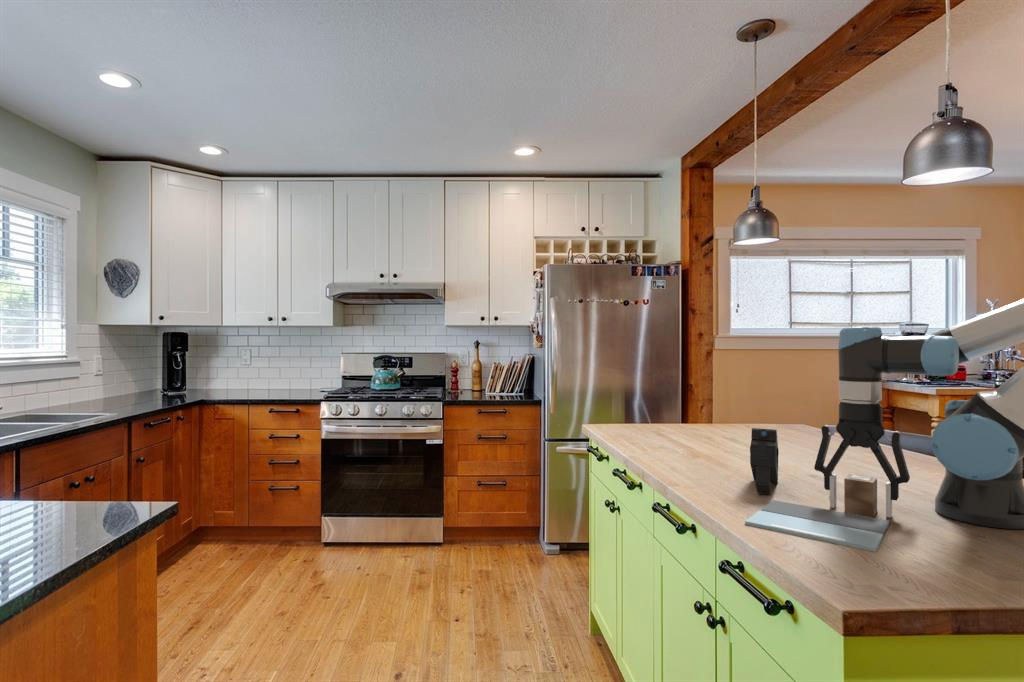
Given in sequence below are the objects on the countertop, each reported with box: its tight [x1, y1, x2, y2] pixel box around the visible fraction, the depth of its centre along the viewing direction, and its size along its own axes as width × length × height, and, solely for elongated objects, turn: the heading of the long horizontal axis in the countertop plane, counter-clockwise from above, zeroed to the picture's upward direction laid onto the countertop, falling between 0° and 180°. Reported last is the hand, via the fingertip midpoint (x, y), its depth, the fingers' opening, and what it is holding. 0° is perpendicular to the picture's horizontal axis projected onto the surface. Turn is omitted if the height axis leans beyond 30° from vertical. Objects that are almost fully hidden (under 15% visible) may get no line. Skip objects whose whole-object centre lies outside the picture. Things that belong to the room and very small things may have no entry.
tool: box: [749, 427, 779, 495], centre depth 132 cm, size 6×19×15 cm, turn 152°
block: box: [843, 473, 878, 518], centre depth 112 cm, size 5×5×7 cm
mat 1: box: [760, 499, 891, 537], centre depth 108 cm, size 21×9×1 cm, turn 49°
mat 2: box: [744, 509, 884, 553], centre depth 101 cm, size 21×9×1 cm, turn 49°
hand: (860, 510), depth 112 cm, fingers open, 9 cm apart
